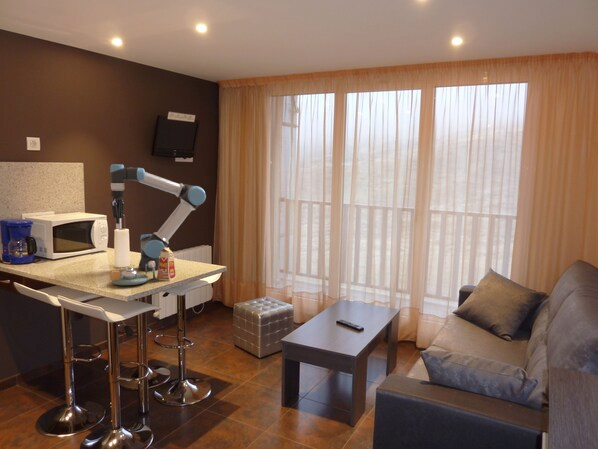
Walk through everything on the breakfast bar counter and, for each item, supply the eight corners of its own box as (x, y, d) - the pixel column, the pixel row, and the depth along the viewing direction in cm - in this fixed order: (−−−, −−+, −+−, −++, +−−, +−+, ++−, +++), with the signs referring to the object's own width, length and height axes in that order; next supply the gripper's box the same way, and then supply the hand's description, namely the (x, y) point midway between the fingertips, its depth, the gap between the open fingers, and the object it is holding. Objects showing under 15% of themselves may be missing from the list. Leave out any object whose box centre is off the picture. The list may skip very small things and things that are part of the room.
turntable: (107, 279, 268) (107, 268, 267) (142, 274, 279) (141, 264, 279) (116, 286, 252) (116, 275, 251) (153, 282, 263) (152, 271, 263)
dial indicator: (149, 279, 275) (149, 259, 273) (158, 280, 275) (158, 260, 273) (145, 281, 270) (145, 261, 268) (155, 282, 269) (154, 262, 268)
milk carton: (170, 280, 274) (169, 247, 271) (155, 279, 276) (155, 247, 273) (177, 277, 283) (176, 245, 280) (163, 276, 285) (162, 244, 282)
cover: (121, 277, 267) (120, 267, 266) (135, 275, 271) (134, 266, 270) (124, 280, 260) (124, 270, 259) (138, 278, 265) (138, 269, 264)
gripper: (116, 189, 283) (118, 227, 286) (106, 190, 270) (107, 230, 273) (128, 189, 282) (129, 227, 285) (118, 190, 269) (119, 230, 272)
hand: (118, 228), depth 279 cm, fingers closed
